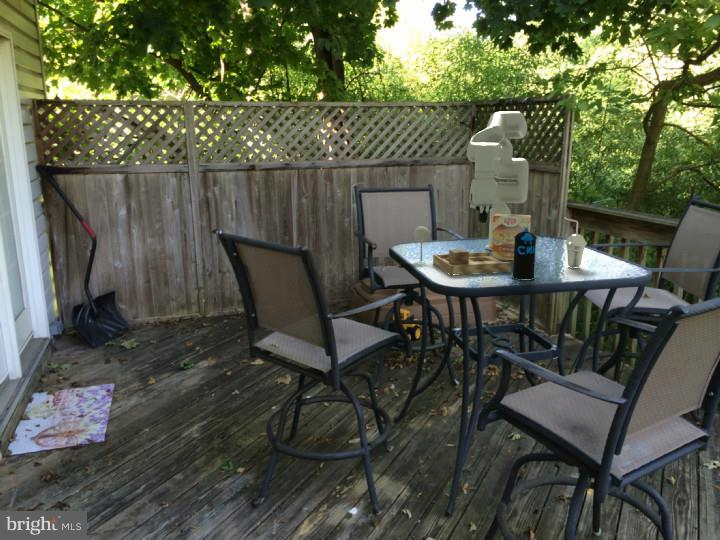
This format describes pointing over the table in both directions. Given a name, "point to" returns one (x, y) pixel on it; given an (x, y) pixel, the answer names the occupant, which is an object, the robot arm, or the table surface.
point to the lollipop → (421, 235)
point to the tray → (472, 264)
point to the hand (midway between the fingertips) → (482, 222)
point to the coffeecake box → (507, 234)
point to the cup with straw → (575, 247)
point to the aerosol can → (524, 254)
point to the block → (458, 257)
